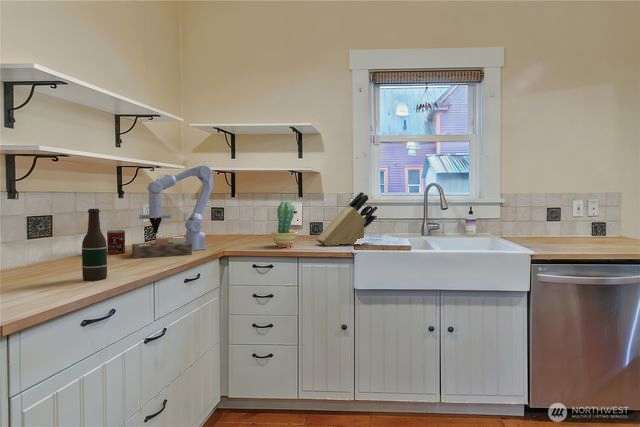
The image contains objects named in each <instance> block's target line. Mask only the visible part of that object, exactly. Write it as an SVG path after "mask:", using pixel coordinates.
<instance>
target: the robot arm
mask: <svg viewBox="0 0 640 427" xmlns="http://www.w3.org/2000/svg"><path fill="white" fill-rule="evenodd" d="M213 174H214V173H213V171H212V168H211V167H210V166H209V165H205V164H203V165H198V166H196V167H191V168H188V169H186V170H184V171H182V172H180V173H177V174H175V175H172V174H165V175H164V176H163V177H160V178H156V179H155V180H154V181H151V182H149V184H148V185H147V191H148V214H139V215H138V216H139V217H138V218H139V220H147V219H149V222H150V225H151V226H152V231H153V234H158V231H159V227H160V224H161V222H162V219H172V213H171V214H170V213H168V214H167V213H165V214H163V213H162V190H163V191H165V190H167V189H169V188H171V187H174V186H175V185H176V184H177V183H178V182H180V181H181V180H184V179H186V178H189V177H197V178H198V180H199V181H200V182H201V183H202V186H201V187H202V188H201V190H200V192H199V196H198V198H197V200H196V203H195V205H194V208H193V211H192V213H191V215H189V217H188V219H187V220H185V221H186V222H185V224H184V227H185V229H186V231H185V241H187V242H188V243H190V244H192V251H198V250H199V251H202V250H203V251H205V250H207V248H206V234H205V232H204V231H202V232H201V229H202V227H203V225H202V222H203V215H204V212H205V209H206V207H207V203H208V201H209V199H210V196H211V194H212V192H213V188H214V185H215V183H214V177H213Z"/></svg>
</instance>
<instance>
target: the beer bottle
mask: <svg viewBox="0 0 640 427" xmlns="http://www.w3.org/2000/svg"><path fill="white" fill-rule="evenodd" d="M87 213H88V221H87V222H88V223H87V232H86V234H85V236H84V237H83V240H82V243H81V261H82V262H81V263H82V264H81V265H82V266H81V267H82V268H81V269H82V270H81V271H82V280H83V281H85V282H95V281H96V282H97V281H99V282H100V281H103V280H106V279H107V277H108V255H107V254H108V252H107V238H106V237H105V235H104V234H103V233H102V230H101V223H100V221H101V220H100V208H88V209H87Z"/></svg>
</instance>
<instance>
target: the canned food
mask: <svg viewBox="0 0 640 427" xmlns="http://www.w3.org/2000/svg"><path fill="white" fill-rule="evenodd" d="M106 237H107V238H106V245H107V254H108V255H122V254H123V255H124V254H125V252H126V231H125V229H124V230H123V229H115V230H114V229H112V230H107V231H106Z"/></svg>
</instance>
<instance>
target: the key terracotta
mask: <svg viewBox="0 0 640 427" xmlns="http://www.w3.org/2000/svg"><path fill="white" fill-rule="evenodd" d="M168 242H169V238H168V237H167V236H166V237H164V236H163V237H162V236H161V237H155V243H156V245H168Z"/></svg>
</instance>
